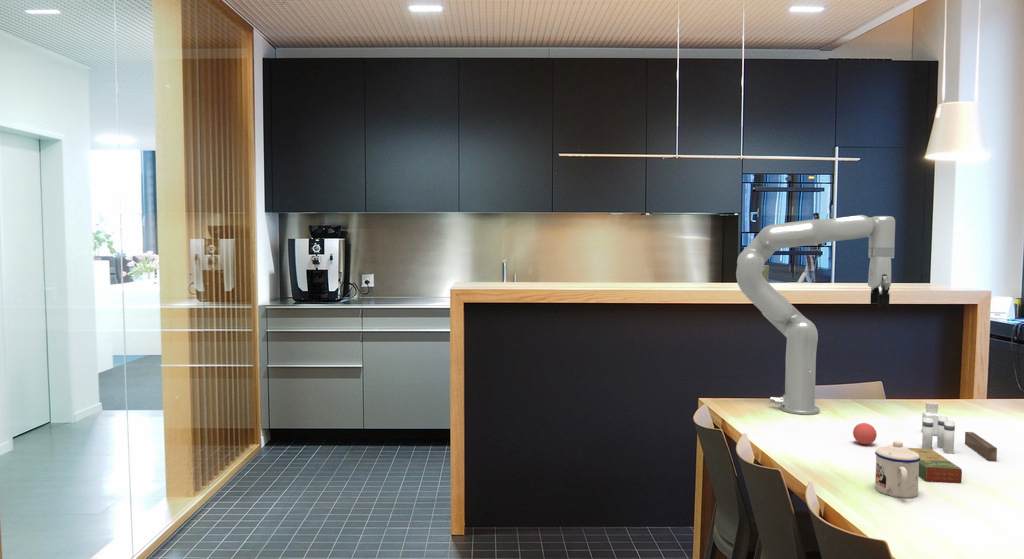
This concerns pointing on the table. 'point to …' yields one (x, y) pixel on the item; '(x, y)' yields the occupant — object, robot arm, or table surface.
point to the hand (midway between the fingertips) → (879, 305)
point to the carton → (937, 467)
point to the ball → (864, 433)
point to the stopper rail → (981, 446)
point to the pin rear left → (941, 431)
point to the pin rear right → (949, 437)
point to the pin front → (927, 433)
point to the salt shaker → (932, 415)
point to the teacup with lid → (897, 471)
